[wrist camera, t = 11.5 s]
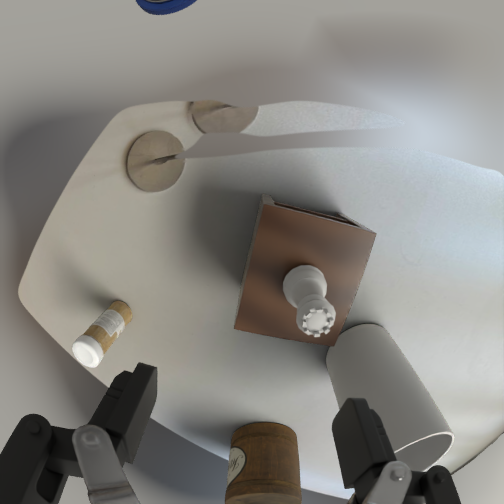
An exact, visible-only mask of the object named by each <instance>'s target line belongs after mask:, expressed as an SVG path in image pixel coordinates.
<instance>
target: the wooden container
mask: <svg viewBox="0 0 504 504" xmlns="http://www.w3.org/2000/svg"><path fill="white" fill-rule="evenodd" d="M301 501H302V497H301V486H300V466H299V454H298V444H297V436H296V434H295V432H294V431H293V430H292V429H290V428H289V427H287V426H284V425H281V424H277V423H254V424H249V425H246V426H243V427H241V428H239V429H238V430H236V431H235V432H234V434H233V435H232V439H231V449H230V455H229V466H228V478H227V490H226V495H225V504H301Z"/></svg>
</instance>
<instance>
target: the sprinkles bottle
mask: <svg viewBox="0 0 504 504" xmlns="http://www.w3.org/2000/svg"><path fill="white" fill-rule="evenodd" d="M131 319H132V312H131V310H130V308H129V307H128V306H127V305H126V304H125V303H124V302H121V301H115V302H113V303H112V304H111V305H110V307H109V308H108V309H107V310H106V311H104V312H103V313H102V314H101V315H100V316H99V317H98V319H97V320H96V321H95V322H94V323H93V324H92V325H91V326H90V327H89V329H88V330H87V331H86V332H85V333H84V334H83V335H81V336H79V337H78V338H77V339H76V341H75V342H74V343H73V346H72V350H73V353H74V355H75V357H76V358H77V359H78V361H79V362H81V363H82V364H83V365H85V366H87V367H96V366H97V365H98V364H99V363H100V361H101V360H102V358H103V355H104V354H105V352H106V351H107V350H108V348H109V347H110V346H111V345H112V344H113V343H114V341H115V340H116V339H117V337H118V336H119V335H120V334H121V332H122V331H123V330H124V328H125V326H126V325H127V324H128V323H129V322H130V321H131Z"/></svg>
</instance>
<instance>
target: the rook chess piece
mask: <svg viewBox="0 0 504 504" xmlns="http://www.w3.org/2000/svg"><path fill="white" fill-rule="evenodd" d="M326 291H327V283H326V280H325V278H324V275H323V273H322V272H321V271H320V270H319V269H318V268H315V267H313V266H310V265H301V266H299V267H296V268H294V269H292V270H291V271H290V272H289V273H288V274H287V275H286V277H285V279H284V282H283V292H284V294H285V296H286V299H287V301H288V302H289V303H290V304H292V305H293V306H294V307H296V308H297V318H296V322H297V325H298V327H299V329H301V330H302V331H303V332H304V333H306V334H307V335H310V334H313V335H314V337H320V333H322V332H324V333H325V334H327V333H328V332H329V331H330V327H331V326H332V325H333V324H334V321H335V315H336V313H335V310H334V307H333V306H332V305H331V304H330V303H329V302H328V301H327V300H326V299H325V298H324V297H325V295H326Z"/></svg>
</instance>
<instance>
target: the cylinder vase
mask: <svg viewBox="0 0 504 504" xmlns="http://www.w3.org/2000/svg"><path fill="white" fill-rule="evenodd" d="M326 365H327V369H328V372H329V375H330V378H331V382H332V385H333V388H334V392H335V395H336V398H337V402H338V405H339V409H341V407H342V405H343V404H344V402H345V400H346V399H347V398H365V399H366V401H367V403H368V405H369V408H370V409H374V410H375V412H376V413H377V414H378V415H379V416H380V418H381V420H382V423H383V425H384V426H383V427H384V428H385V430H386V435H388V438H389V441H390V443H391V446H392V448H393V451H394V454H395V456H396V459H397V461H400V462H403V463H405V464H406V465H407V466H408V467H409V468H410V470H411V471H421V472H423V471H425V470H426V469H428V468H429V467H431V466H432V465H433V464H435V463H436V462H437V461H438V460H440V459H441V458H442V457H443V456H444V455H445V454H446V453H447V451H448V450H449V449H450V448H451V446H452V444H453V442H454V439H455V436H454V434H453V432H452V430H451V429H450V427H449V425H448V424H447V422H446V420H445V419H444V417H443V415H442V414H441V412H440V410H439V409H438V407H437V405H436V404H435V402H434V400H433V399H432V397H431V396H430V394H429V392H428V391H427V389H426V388H425V386H424V385H423V383H422V382H421V380H420V378H419V377H418V375H417V374H416V372H415V371H414V369H413V368H412V366H411V365H410V363H409V362H408V360H407V359H406V357H405V356H404V354H403V353H402V351H401V350H400V349H399V347H398V346H397V344H396V343H395V341H394V340H393V338H392V337H391V336H390V334H389V333H388V332H387V330H385V329H384V328H383V327H381V326H378V325H375V324H362V325H358V326H355V327H352V328H350V329H348V330H346V331H345V332H343V333H342V334H341V335H339V337H338V339H337V341H336V344H335V346H334V347H333V346H330V348H329V350H328V352H327V356H326Z"/></svg>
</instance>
